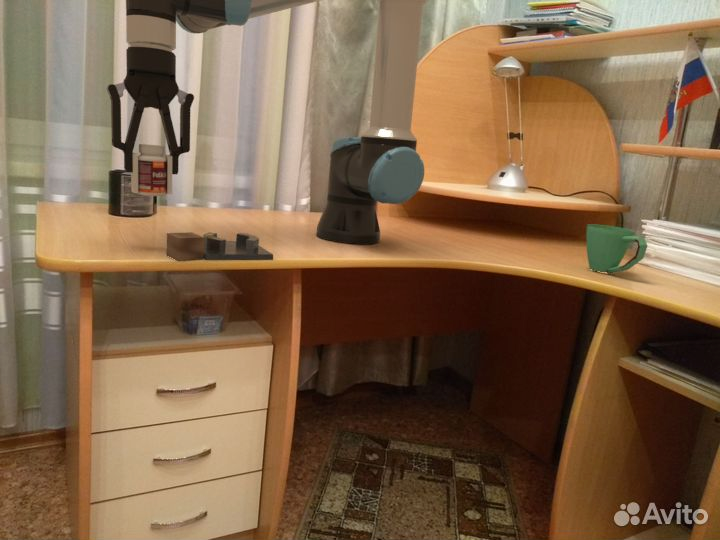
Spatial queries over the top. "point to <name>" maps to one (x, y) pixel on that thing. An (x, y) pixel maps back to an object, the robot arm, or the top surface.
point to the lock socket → (234, 248)
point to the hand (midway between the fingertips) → (151, 192)
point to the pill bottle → (151, 170)
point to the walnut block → (185, 246)
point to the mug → (611, 247)
